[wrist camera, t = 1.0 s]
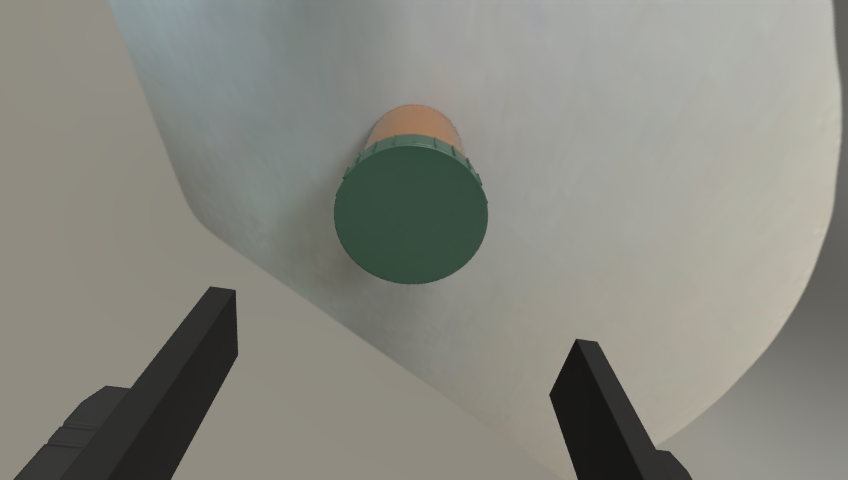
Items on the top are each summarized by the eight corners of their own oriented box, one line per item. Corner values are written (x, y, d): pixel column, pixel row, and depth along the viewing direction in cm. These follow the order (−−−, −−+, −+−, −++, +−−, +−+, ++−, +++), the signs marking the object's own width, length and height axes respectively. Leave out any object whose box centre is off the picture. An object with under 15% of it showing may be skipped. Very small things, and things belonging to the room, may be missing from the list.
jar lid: (334, 253, 26) (327, 273, 24) (347, 119, 22) (340, 129, 20) (464, 273, 26) (468, 294, 24) (500, 147, 23) (507, 160, 21)
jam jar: (361, 188, 34) (336, 264, 24) (373, 95, 31) (348, 136, 20) (450, 204, 35) (462, 284, 25) (471, 114, 32) (496, 163, 21)
